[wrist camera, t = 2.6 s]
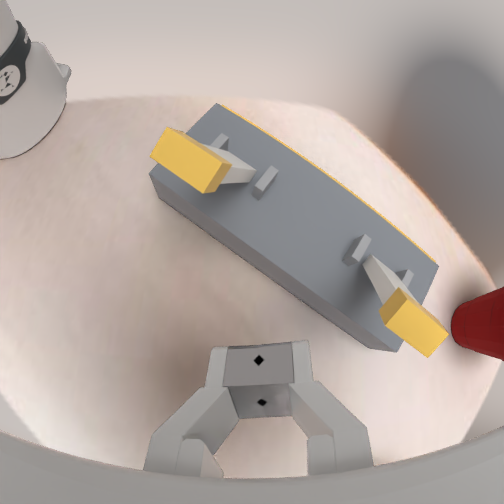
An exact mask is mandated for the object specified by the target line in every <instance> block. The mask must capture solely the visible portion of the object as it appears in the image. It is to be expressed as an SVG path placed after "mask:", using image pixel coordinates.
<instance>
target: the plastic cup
mask: <svg viewBox="0 0 504 504" xmlns="http://www.w3.org/2000/svg"><path fill="white" fill-rule="evenodd" d="M451 330H452V336H453V338H454V340H455V342H457V343H458V344H459V345H461V346H462V347H465V348H468V349H471V350H474V351H475V352H479V353H482V354H485V355H488V356H491V357H495V358H498V359H501V360H502V361H504V287H502V288H500V289H497V290H495V291H492V292H490V293H487V294H485V295H482V296H480V297H477V298H475V299H474V300H471V301H468V302H466V303H463V304H462V305H460V306H459V307H458V308H457V309H456V310H455V312H454V315H453V317H452V323H451Z"/></svg>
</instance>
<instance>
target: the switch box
mask: <svg viewBox="0 0 504 504" xmlns="http://www.w3.org/2000/svg"><path fill="white" fill-rule="evenodd" d="M186 134H187V135H188V136H190V137H191V138H193V139H194V140H196V141H198V142H199V143H201V144H205V145H208V146H211V147H215V148H218V149H222V150H225V151H228V152H230V153H232V154H233V155H235V156H236V157H238V158H239V159H241V160H242V161H244V162H245V163H247V164H248V165H250V166H251V167H253V168H254V169H256V170H257V172H256V173H255V175H254V176H253V178H252V179H251V180H250V182H244V183H226V184H220V185H219V186H218V188H217V189H216V191H215V192H210V193H201V192H200V191H198V190H197V189H196V188H194V187H193V186H191V185H190V184H188V183H187V182H186V181H184V180H183V179H181V178H180V177H178V176H177V175H175V174H174V173H173V172H171V171H170V170H168V169H167V168H165V167H164V166H163V165H161V164H160V163H158V164H157V165H156V166H155V167H154V168H153V169H152V171H151V172H150V173H149V175H150V178H151V180H152V183H153V185H154V187H155V190H156V192H157V194H158V197H159V198H160V199H162V200H163V201H164V202H166V203H167V204H169V205H170V206H171V207H173V208H174V209H175V210H177V211H178V212H179V213H181V214H182V215H184V216H185V217H186V218H188V219H189V220H190V221H192V222H193V223H195V224H196V225H197V226H199V227H200V228H201V229H203V230H204V231H206V232H207V233H208V234H210V235H211V236H212V237H214V238H215V239H217V240H218V241H219V242H221V243H222V244H223V245H225V246H226V247H228V248H229V249H230V250H232V251H233V252H234V253H236V254H237V255H239V256H240V257H241V258H243V259H244V260H246V261H247V262H248V263H250V264H251V265H253V266H254V267H255V268H257V269H258V270H259V271H261V272H262V273H264V274H265V275H266V276H268V277H269V278H271V279H272V280H273V281H275V282H276V283H278V284H279V285H280V286H282V287H283V288H285V289H286V290H287V291H289V292H290V293H292V294H293V295H294V296H296V297H297V298H299V299H300V300H301V301H303V302H304V303H306V304H307V305H308V306H310V307H311V308H313V309H314V310H315V311H317V312H318V313H320V314H321V315H322V316H324V317H325V318H327V319H328V320H329V321H331V322H332V323H334V324H335V325H337V326H338V327H339V328H341V329H342V330H344V331H345V332H346V333H348V334H349V335H351V336H352V337H354V338H355V339H356V340H358V341H359V342H361V343H362V344H363V345H365V346H366V347H368V348H370V349H377V350H383V351H390V352H397V351H398V350H399V348H400V346H401V344H402V342H403V341H404V340H403V339H402V338H401V337H399V336H398V335H397V334H395V333H394V332H393V331H391V330H390V329H389V328H387V327H386V326H385V325H384V323H383V320H382V318H381V316H380V313H379V309H380V308H381V307H382V306H383V304H382V302H381V300H380V298H379V296H378V294H377V292H376V290H375V288H374V286H373V284H372V282H371V280H370V278H369V276H368V274H367V272H366V271H365V269H364V267H363V263H364V262H365V261H366V259H367V258H368V257H369V256H370V254H372V255H373V256H374V257H375V258H377V259H378V260H379V261H380V262H382V263H383V264H384V265H385V266H387V267H388V268H389V269H390V270H392V271H393V272H394V273H395V274H396V275H397V276H398V277H399V279H400V280H401V281H402V282H403V284H404V285H405V286H406V287H407V289H408V290H409V291H410V293H411V294H412V295H413V297H414V298H415V299H416V300H417V302H418V303H419V304H420V305H422V303H423V301H424V299H425V297H426V295H427V292H428V290H429V288H430V286H431V284H432V281H433V279H434V277H435V274H436V272H437V270H438V267H439V266H438V265H437V264H436V263H435V262H436V261H435V260H434V259H433V258H432V257H430V256H429V255H428V254H427V253H426V252H425V251H424V250H423V249H421V248H420V247H419V246H418V245H417V244H416V243H415V242H413V241H412V240H411V239H410V238H409V237H408V236H406V235H405V234H404V233H403V232H402V231H401V230H399V229H398V228H397V227H396V226H395V225H393V224H392V223H391V222H390V221H388V220H387V219H386V218H385V217H384V216H382V215H381V214H380V213H379V212H377V211H376V210H375V209H374V208H372V207H371V206H370V205H369V204H367V203H366V202H365V201H363V200H362V199H361V198H360V197H358V196H357V195H356V194H354V193H353V192H352V191H350V190H349V189H348V188H346V187H345V186H344V185H342V184H341V183H340V182H338V181H337V180H336V179H334V178H333V177H332V176H330V175H329V174H328V173H326V172H325V171H323V170H322V169H321V168H319V167H318V166H316V165H315V164H314V163H312V162H311V161H309V160H308V159H306V158H305V157H304V156H302V155H301V154H299V153H298V152H296V151H295V150H293V149H292V148H290V147H289V146H287V145H286V144H284V143H283V142H281V141H280V140H278V139H277V138H275V137H274V136H272V135H271V134H269V133H268V132H266V131H264V130H263V129H261V128H260V127H258V126H257V125H255V124H253V123H252V122H250V121H249V120H247V119H245V118H244V117H242V116H240V115H239V114H237V113H235V112H234V111H232V110H230V109H229V108H227V107H225V106H224V105H219V104H217V103H216V104H215V105H214V106H213V107H212V108H211V109H210V110H209V111H208V112H207V113H206V114H205V115H204V116H203V117H202V118H201V119H200V120H199V121H198V122H197V123H196V124H195V125H194V126H193V127H192V128H191V129H190V130H189V131H188V132H187V133H186Z"/></svg>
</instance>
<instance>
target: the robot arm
mask: <svg viewBox="0 0 504 504" xmlns="http://www.w3.org/2000/svg"><path fill="white" fill-rule="evenodd" d="M70 75H71V69H70V68H69V66H68V65H64V64H59V63H56V62H55V61H54V59H53V57H52V56H51V54H50V53H49V51H48V49H47V47H46V46H45V45H44V44H43V43H38V42H31V41H30V39H29V37H28V33H27V31H26V29H25V28H24V27H23V26H22V24H21V23H20V22H19V21H17V20H15V18H14V16H13V14H12V12H11V10H10V8H9V6H8V4H7V2H6V0H0V159H4V158H11V157H14V156H17V155H20V154H22V153H24V152H25V151H27V150H29V149H30V148H32V147H33V146H34V145H36V144H37V143H38V142H39V141H40V140H41V139H42V138H43V137H44V136H45V135H46V134H47V133H48V132H49V131H50V130H51V128H52V127H53V126H54V124H55V123H56V121H57V120H58V118H59V116H60V115H61V113H62V110H63V108H64V105H65V102H66V94H67V93H66V84H67V82H68V79H69V77H70ZM283 416H292V417H293V419H294V420H295V421H296V423H297V424H298V425H299V426H300V428H301V429H302V430H303V432H304V433H305V434H306V436H307V437H308V438H309V439H308V440H307V472H308V476H300V477H285V478H257V479H237V478H223V474H224V472H223V471H222V470H221V468H220V467H219V465H218V464H217V462H216V460H215V459H214V457H213V455H214V454H215V452H216V451H217V450H218V448H219V447H220V446H221V444H222V443H223V442H224V440H225V439H226V438H227V436H228V435H229V434H230V432H231V431H232V430H233V428H234V427H235V425H236V424H237V423H238V421H239V419H244V418H261V417H283ZM0 504H504V426H502V427H500V428H497V429H495V430H493V431H490V432H488V433H485V434H483V435H480V436H478V437H475V438H473V439H470V440H467V441H464V442H462V443H459V444H456V445H453V446H450V447H447V448H444V449H441V450H437V451H434V452H431V453H427V454H424V455H420V456H417V457H413V458H409V459H405V460H401V461H397V462H392V463H388V464H383V465H378V466H374V465H373V459H372V453H371V448H370V442H369V437H368V432H367V427H366V426H365V425H364V424H363V423H362V422H360V421H359V420H358V419H357V418H356V417H355V416H354V415H353V414H352V413H351V412H350V411H349V410H348V409H347V408H346V407H345V406H344V405H343V404H342V403H341V402H340V401H339V400H338V399H336V398H335V397H334V396H333V395H332V394H331V393H330V392H329V391H328V390H327V389H326V388H325V387H324V386H323V385H322V384H321V383H320V382H319V381H313V373H312V364H311V356H310V348H309V342H308V340H303V341H294V342H292V343H291V342H284V343H273V344H262V345H250V346H229V347H213V348H212V350H211V354H210V360H209V365H208V371H207V376H206V382H205V387H200V388H199V389H198V390H197V391H196V392H195V393H194V394H193V395H192V396H191V397H190V398H189V399H188V400H187V401H186V402H185V403H184V404H183V405H182V406H181V407H180V408H179V409H178V410H177V411H176V412H175V413H174V414H173V415H172V416H171V417H170V418H169V419H168V420H167V421H166V422H165V423H164V424H163V425H162V426H160V427H159V428H158V429H157V430H156V431H155V432H154V433H153V434H152V437H151V441H150V444H149V448H148V452H147V456H146V460H145V464H144V468H143V470H137V469H131V468H126V467H121V466H116V465H111V464H106V463H102V462H97V461H93V460H89V459H85V458H81V457H78V456H74V455H70V454H67V453H63V452H60V451H57V450H54V449H51V448H47V447H44V446H41V445H39V444H36V443H33V442H30V441H27V440H24V439H22V438H19V437H17V436H14V435H12V434H9V433H6V432H4V431H2V430H0Z"/></svg>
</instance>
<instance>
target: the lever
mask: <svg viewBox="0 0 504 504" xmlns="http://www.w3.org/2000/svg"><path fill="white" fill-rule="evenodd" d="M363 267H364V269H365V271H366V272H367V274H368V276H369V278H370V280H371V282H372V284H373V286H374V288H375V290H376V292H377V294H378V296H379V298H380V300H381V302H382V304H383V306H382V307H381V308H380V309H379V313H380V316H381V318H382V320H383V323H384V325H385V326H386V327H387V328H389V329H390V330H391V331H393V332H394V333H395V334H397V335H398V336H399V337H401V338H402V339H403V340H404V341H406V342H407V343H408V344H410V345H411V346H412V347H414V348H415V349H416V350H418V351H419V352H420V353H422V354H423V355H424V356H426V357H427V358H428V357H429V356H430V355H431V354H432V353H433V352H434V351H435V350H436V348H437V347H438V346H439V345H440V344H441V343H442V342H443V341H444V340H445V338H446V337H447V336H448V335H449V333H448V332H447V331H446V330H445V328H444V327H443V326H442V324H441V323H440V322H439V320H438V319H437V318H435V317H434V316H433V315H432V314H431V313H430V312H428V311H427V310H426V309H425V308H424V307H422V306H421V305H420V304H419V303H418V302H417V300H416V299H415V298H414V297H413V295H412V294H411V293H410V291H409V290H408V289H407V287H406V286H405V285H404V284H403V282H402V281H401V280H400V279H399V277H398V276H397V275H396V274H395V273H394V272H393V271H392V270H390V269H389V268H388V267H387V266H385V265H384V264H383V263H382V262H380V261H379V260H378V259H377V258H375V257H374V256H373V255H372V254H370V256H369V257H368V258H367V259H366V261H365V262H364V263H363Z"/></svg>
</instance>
